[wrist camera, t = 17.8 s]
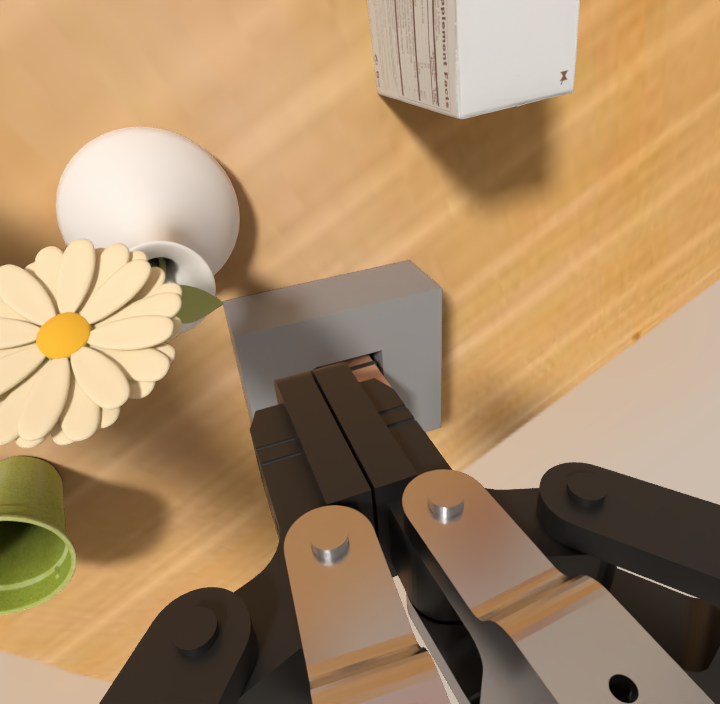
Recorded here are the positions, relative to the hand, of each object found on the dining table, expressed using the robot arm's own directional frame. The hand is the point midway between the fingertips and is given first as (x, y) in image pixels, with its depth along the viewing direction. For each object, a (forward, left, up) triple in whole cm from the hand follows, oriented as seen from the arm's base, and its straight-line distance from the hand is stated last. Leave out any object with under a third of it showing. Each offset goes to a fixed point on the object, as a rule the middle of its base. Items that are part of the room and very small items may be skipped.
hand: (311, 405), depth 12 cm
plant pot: (-19, -24, -31) cm, 44 cm away
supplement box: (+17, +5, -31) cm, 36 cm away
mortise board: (+8, -19, -31) cm, 37 cm away
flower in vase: (-4, -4, -31) cm, 32 cm away
